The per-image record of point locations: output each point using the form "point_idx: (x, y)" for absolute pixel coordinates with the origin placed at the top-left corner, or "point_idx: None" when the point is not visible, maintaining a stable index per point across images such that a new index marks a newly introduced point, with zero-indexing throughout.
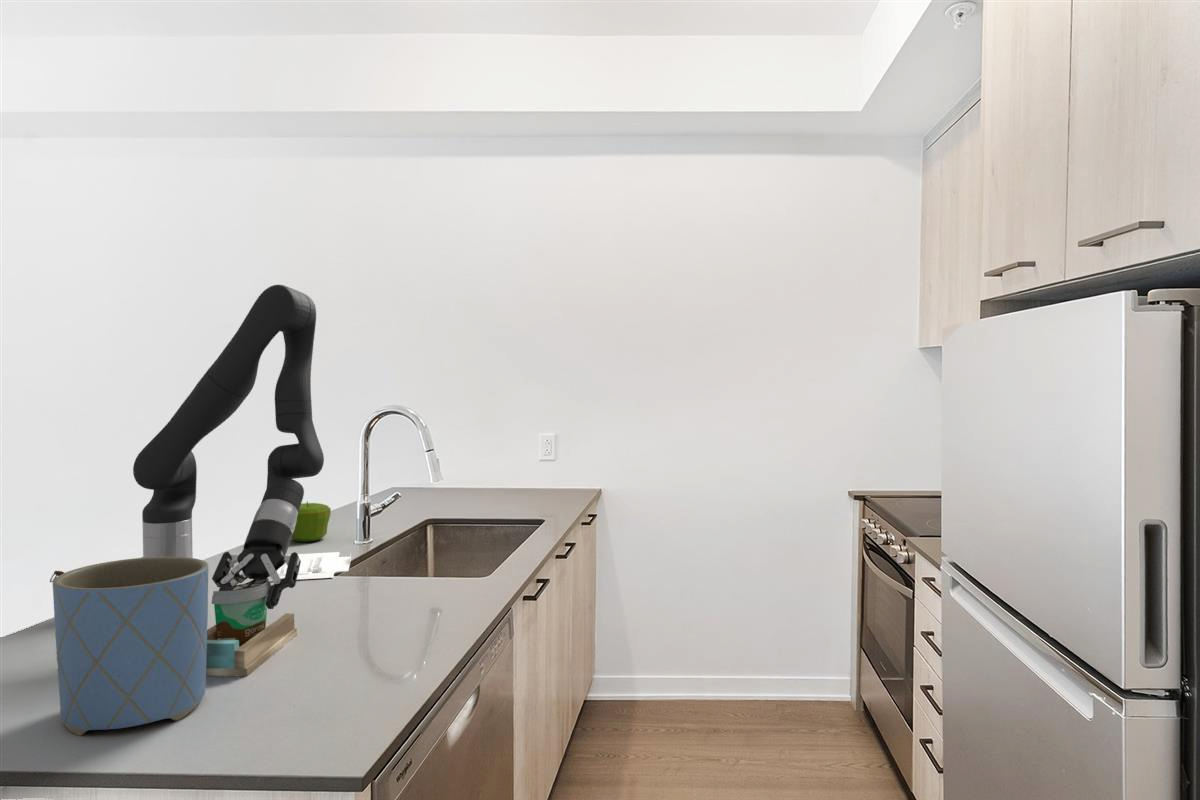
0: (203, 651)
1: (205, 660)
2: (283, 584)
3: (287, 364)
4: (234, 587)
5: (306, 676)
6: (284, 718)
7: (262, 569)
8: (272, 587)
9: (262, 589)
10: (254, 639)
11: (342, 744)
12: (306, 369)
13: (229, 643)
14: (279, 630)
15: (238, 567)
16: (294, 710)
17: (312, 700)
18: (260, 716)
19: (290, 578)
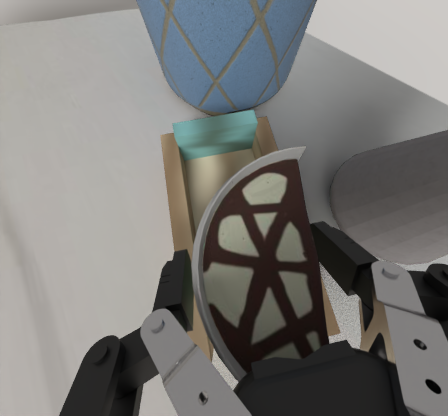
0: (140, 11)
1: (152, 41)
2: (138, 330)
3: None
4: (304, 242)
5: (91, 172)
6: (73, 82)
7: (264, 390)
8: (174, 294)
9: (193, 254)
10: (175, 182)
11: (4, 57)
12: None
13: (180, 122)
14: None
15: (422, 354)
16: (69, 96)
17: (59, 118)
18: (98, 81)
19: (89, 355)
